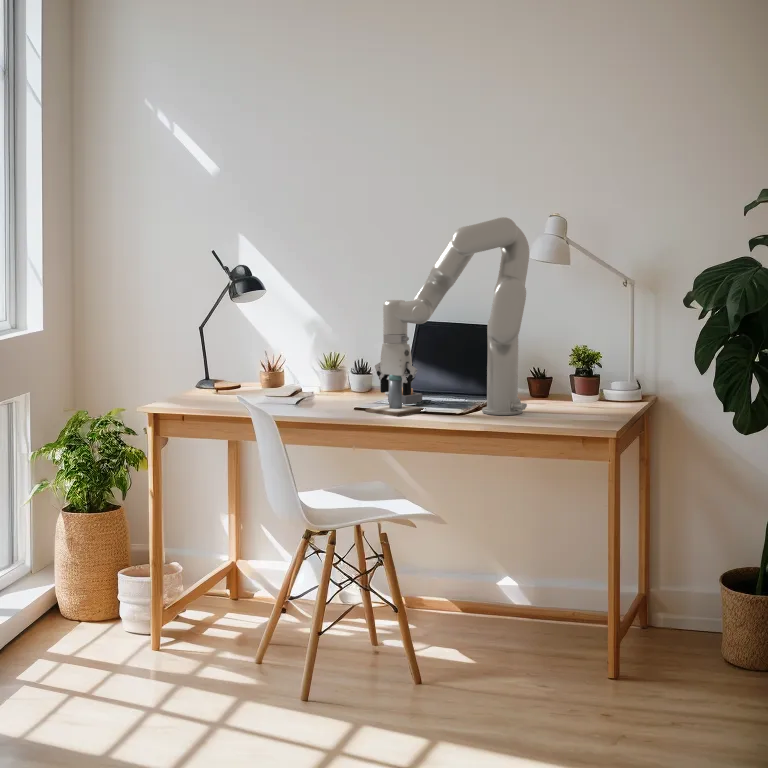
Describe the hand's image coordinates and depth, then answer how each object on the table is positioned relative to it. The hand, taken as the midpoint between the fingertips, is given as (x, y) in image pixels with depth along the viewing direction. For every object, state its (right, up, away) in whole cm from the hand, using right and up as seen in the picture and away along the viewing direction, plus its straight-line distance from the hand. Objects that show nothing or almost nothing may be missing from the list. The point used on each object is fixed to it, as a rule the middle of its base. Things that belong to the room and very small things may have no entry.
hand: (395, 393), depth 313 cm
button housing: (+3, -4, +15) cm, 16 cm away
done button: (+3, -1, +15) cm, 16 cm away
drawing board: (0, -6, +1) cm, 6 cm away
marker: (0, -4, +1) cm, 4 cm away
